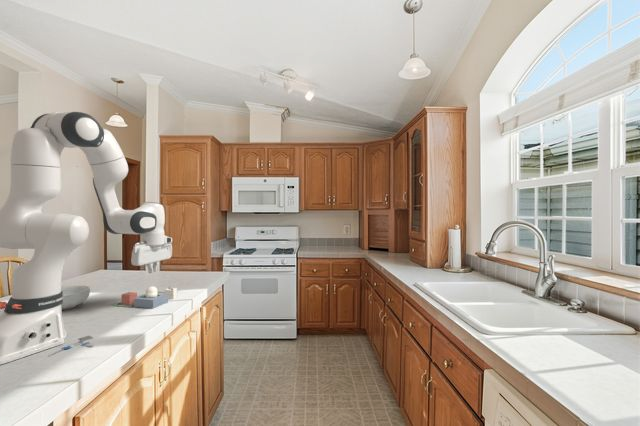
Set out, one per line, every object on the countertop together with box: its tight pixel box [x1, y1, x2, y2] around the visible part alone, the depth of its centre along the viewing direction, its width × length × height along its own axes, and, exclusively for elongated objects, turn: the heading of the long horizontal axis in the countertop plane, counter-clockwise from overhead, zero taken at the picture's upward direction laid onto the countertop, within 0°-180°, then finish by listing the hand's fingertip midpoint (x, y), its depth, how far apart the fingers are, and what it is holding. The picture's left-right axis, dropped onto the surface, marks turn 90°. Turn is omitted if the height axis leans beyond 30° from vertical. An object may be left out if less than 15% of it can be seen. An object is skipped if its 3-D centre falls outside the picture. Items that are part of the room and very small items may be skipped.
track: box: [112, 291, 164, 308], centre depth 139 cm, size 23×9×1 cm, turn 169°
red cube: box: [120, 291, 138, 306], centre depth 131 cm, size 4×4×4 cm
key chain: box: [48, 335, 94, 357], centre depth 91 cm, size 14×8×1 cm, turn 4°
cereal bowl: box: [61, 285, 91, 311], centre depth 125 cm, size 17×17×7 cm
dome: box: [145, 285, 158, 298], centre depth 131 cm, size 4×4×5 cm
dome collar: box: [133, 293, 169, 309], centre depth 131 cm, size 9×9×4 cm
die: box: [163, 287, 178, 300], centre depth 142 cm, size 4×4×5 cm
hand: (152, 272), depth 131 cm, fingers closed
